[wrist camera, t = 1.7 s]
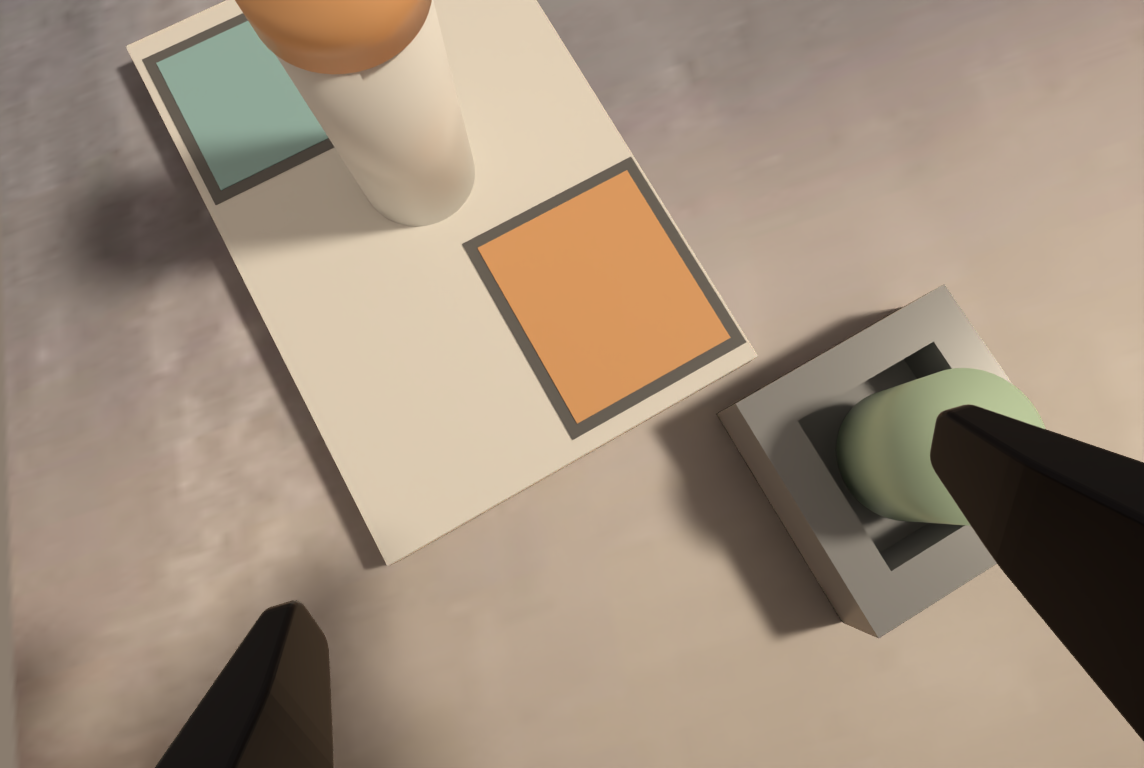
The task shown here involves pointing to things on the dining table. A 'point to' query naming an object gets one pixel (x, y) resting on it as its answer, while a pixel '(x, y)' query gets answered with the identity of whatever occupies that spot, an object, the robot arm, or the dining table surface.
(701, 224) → the dining table surface
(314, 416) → the colouring mat
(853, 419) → the button
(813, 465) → the button housing
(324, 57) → the marker
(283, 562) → the dining table surface
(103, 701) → the dining table surface
